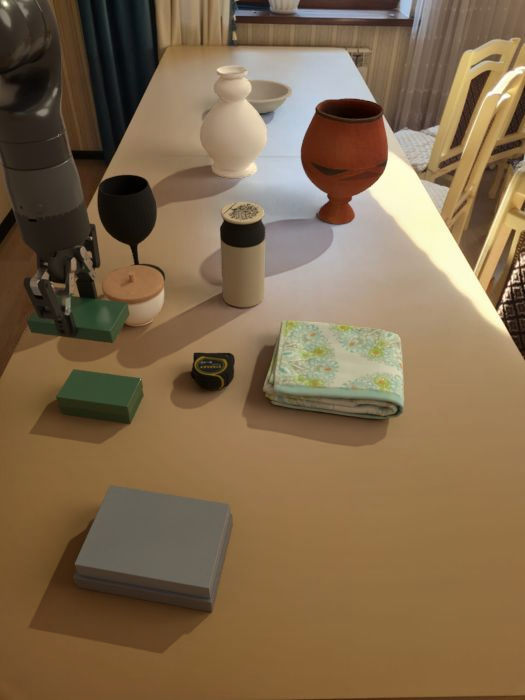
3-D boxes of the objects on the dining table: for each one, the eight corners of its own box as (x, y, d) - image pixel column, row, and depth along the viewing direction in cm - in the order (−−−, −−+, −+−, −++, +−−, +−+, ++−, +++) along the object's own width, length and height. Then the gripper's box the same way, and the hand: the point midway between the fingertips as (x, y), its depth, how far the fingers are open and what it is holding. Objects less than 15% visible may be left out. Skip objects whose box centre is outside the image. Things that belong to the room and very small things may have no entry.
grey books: (77, 587, 62) (67, 566, 59) (112, 504, 70) (105, 482, 67) (212, 612, 60) (210, 592, 57) (233, 524, 68) (232, 502, 65)
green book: (30, 332, 69) (26, 320, 67) (52, 304, 73) (48, 292, 72) (112, 343, 67) (110, 331, 66) (129, 314, 72) (127, 302, 70)
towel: (278, 333, 97) (279, 310, 93) (399, 347, 94) (404, 324, 91) (261, 407, 83) (261, 384, 80) (401, 426, 81) (407, 403, 77)
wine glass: (148, 259, 114) (134, 167, 101) (175, 281, 108) (164, 187, 95) (103, 276, 109) (83, 182, 96) (129, 300, 103) (110, 204, 90)
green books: (60, 414, 82) (54, 396, 79) (77, 386, 86) (72, 368, 84) (131, 425, 80) (127, 406, 78) (145, 395, 85) (141, 377, 82)
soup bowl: (260, 95, 198) (260, 75, 193) (306, 112, 184) (307, 91, 180) (207, 108, 186) (206, 87, 182) (251, 128, 173) (251, 106, 168)
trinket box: (127, 342, 94) (118, 299, 88) (98, 313, 100) (88, 270, 94) (179, 318, 99) (174, 276, 93) (149, 292, 105) (142, 250, 99)
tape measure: (235, 365, 90) (235, 348, 88) (233, 395, 85) (232, 378, 83) (194, 364, 90) (192, 347, 88) (189, 394, 85) (187, 377, 83)
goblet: (386, 207, 133) (405, 100, 117) (363, 243, 120) (381, 129, 104) (313, 191, 139) (322, 88, 123) (284, 224, 126) (289, 113, 109)
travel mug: (271, 293, 106) (274, 208, 94) (248, 314, 101) (247, 227, 89) (239, 280, 109) (237, 196, 97) (214, 299, 104) (209, 213, 92)
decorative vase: (261, 185, 142) (262, 82, 125) (195, 179, 144) (187, 78, 127) (271, 158, 155) (273, 62, 138) (210, 153, 157) (205, 58, 140)
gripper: (46, 167, 64) (76, 284, 75) (-22, 226, 54) (25, 352, 65) (106, 173, 63) (127, 290, 75) (49, 234, 53) (84, 360, 64)
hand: (79, 318), depth 70 cm, fingers closed on green book, 6 cm apart
